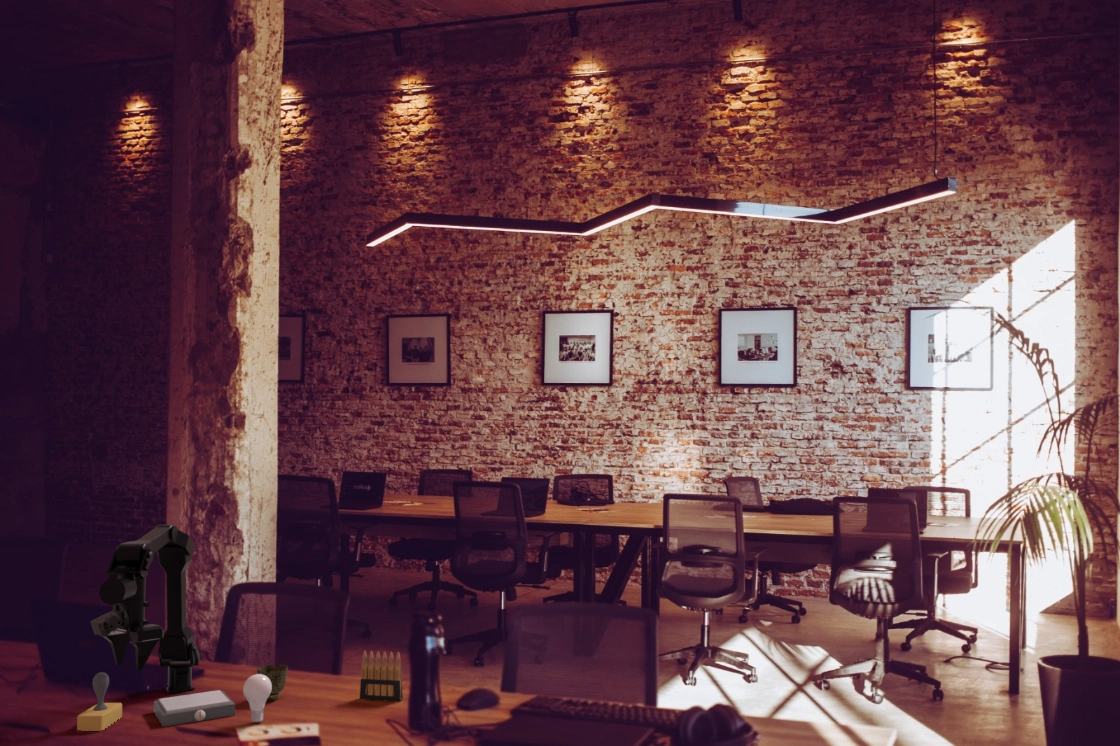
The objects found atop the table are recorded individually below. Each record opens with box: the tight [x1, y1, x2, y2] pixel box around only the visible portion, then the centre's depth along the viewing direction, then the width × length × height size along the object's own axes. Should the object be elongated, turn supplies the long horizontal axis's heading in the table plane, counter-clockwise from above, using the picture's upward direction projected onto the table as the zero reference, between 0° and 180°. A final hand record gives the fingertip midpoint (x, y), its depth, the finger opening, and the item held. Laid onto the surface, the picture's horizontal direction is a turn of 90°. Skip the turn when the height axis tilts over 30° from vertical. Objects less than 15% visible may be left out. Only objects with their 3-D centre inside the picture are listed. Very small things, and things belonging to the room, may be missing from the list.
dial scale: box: [153, 689, 236, 728], centre depth 227 cm, size 14×16×3 cm
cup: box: [256, 663, 289, 702], centre depth 239 cm, size 8×7×8 cm
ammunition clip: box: [359, 649, 403, 703], centre depth 238 cm, size 11×2×12 cm, turn 80°
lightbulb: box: [242, 673, 272, 724], centre depth 220 cm, size 6×6×11 cm
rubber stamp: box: [76, 671, 123, 732], centre depth 219 cm, size 10×6×12 cm, turn 179°
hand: (129, 667), depth 218 cm, fingers open, 9 cm apart
